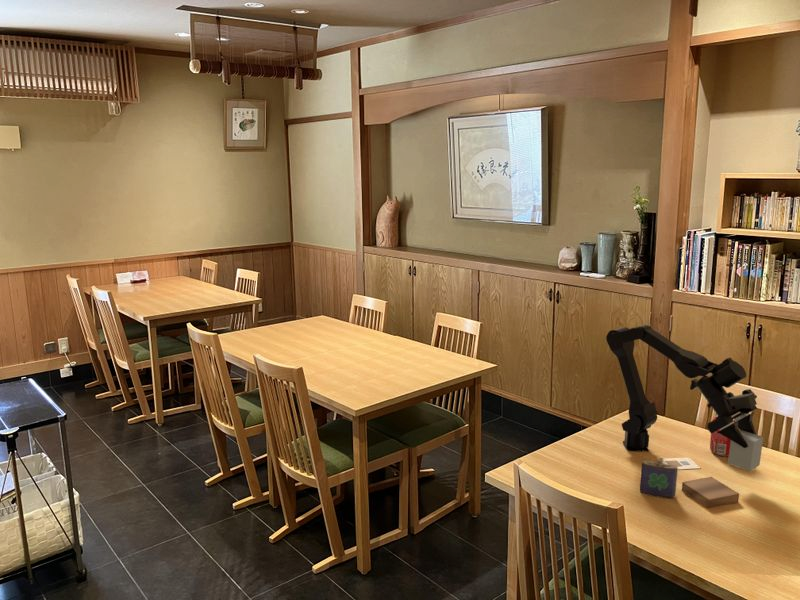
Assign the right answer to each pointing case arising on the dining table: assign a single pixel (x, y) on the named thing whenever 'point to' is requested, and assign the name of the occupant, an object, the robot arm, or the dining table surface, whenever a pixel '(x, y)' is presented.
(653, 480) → the flask
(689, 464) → the page
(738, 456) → the tower block
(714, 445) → the soda can
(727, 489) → the base brick
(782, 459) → the dining table surface
